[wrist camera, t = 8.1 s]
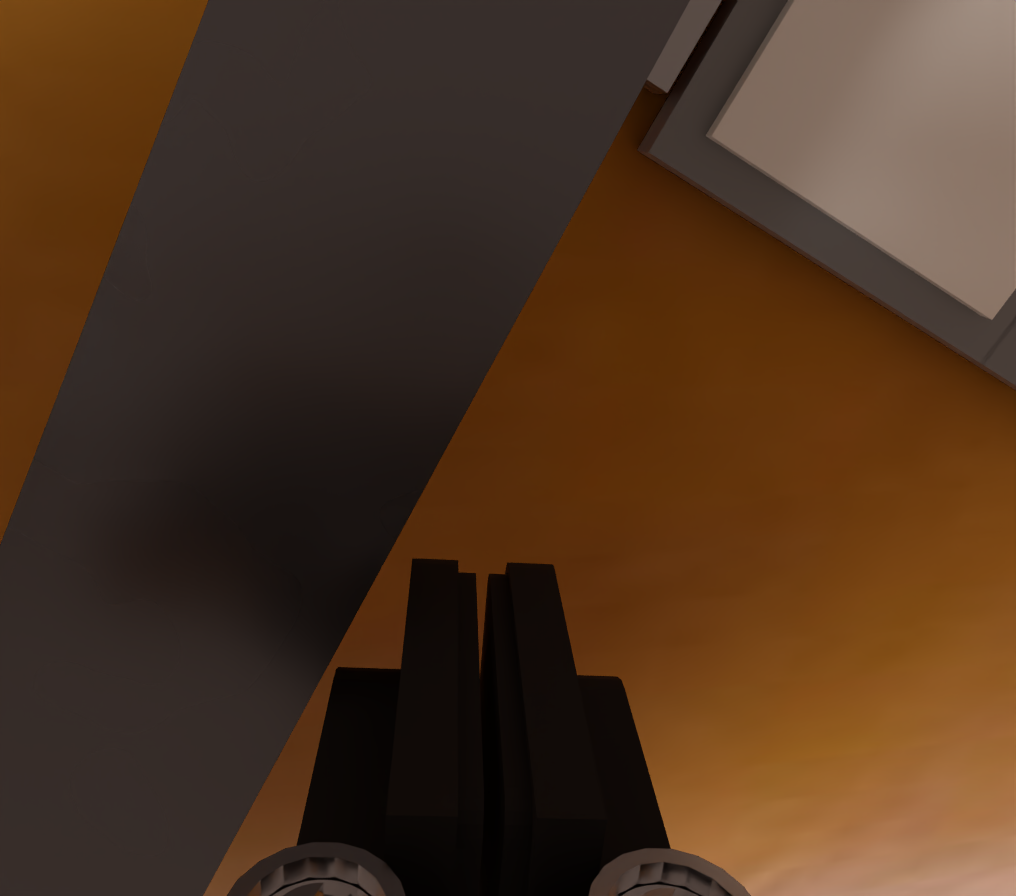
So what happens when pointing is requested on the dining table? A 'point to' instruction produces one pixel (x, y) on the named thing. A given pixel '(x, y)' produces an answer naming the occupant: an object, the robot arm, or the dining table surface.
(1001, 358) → the label tile
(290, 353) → the swing arm
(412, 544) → the dining table surface
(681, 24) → the pivot post base
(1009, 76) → the label tile
